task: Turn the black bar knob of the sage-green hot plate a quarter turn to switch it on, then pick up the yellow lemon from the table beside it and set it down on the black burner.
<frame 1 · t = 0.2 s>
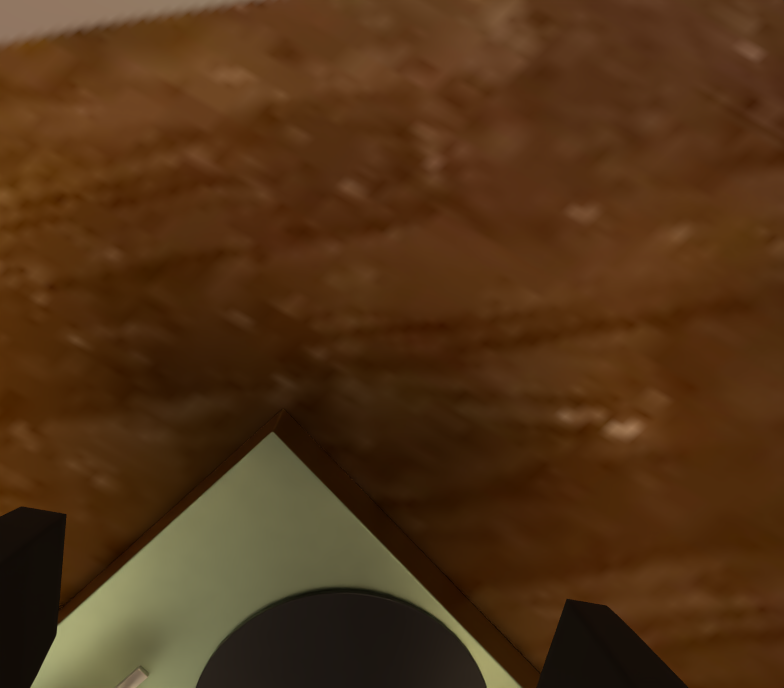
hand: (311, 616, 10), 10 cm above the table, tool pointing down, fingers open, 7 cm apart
burner: (344, 674, 21), resting on hob
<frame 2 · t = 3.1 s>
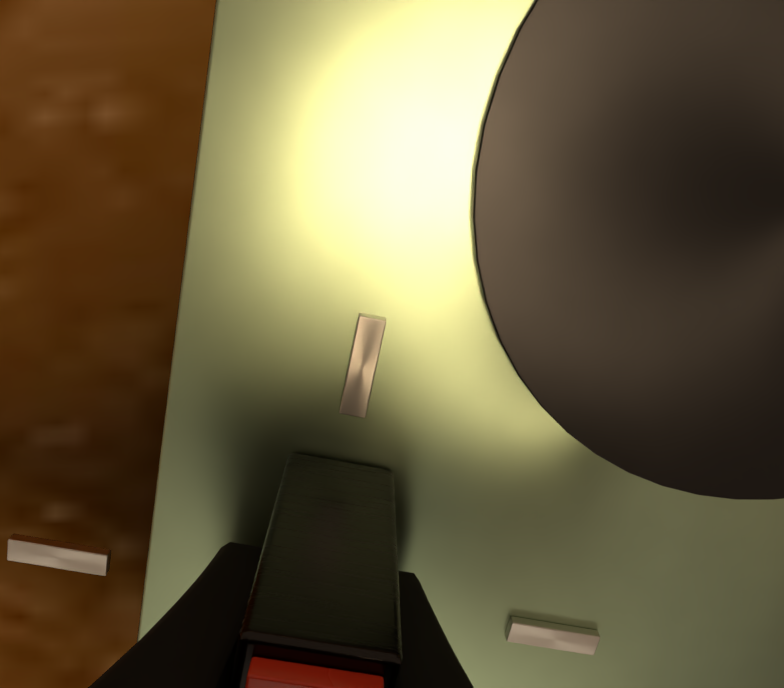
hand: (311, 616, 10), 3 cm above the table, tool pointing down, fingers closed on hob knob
burner: (714, 182, 11), resting on hob
hob: (570, 340, 12), on the table
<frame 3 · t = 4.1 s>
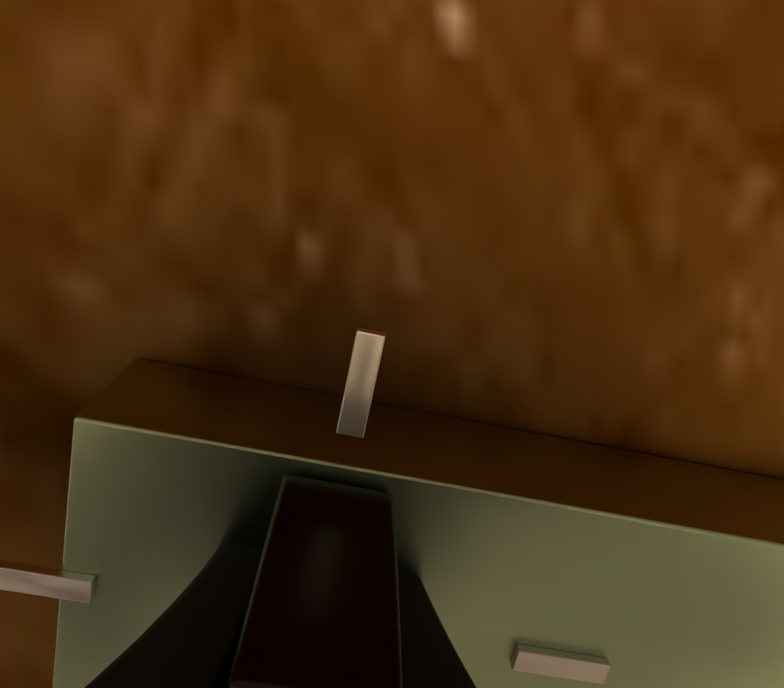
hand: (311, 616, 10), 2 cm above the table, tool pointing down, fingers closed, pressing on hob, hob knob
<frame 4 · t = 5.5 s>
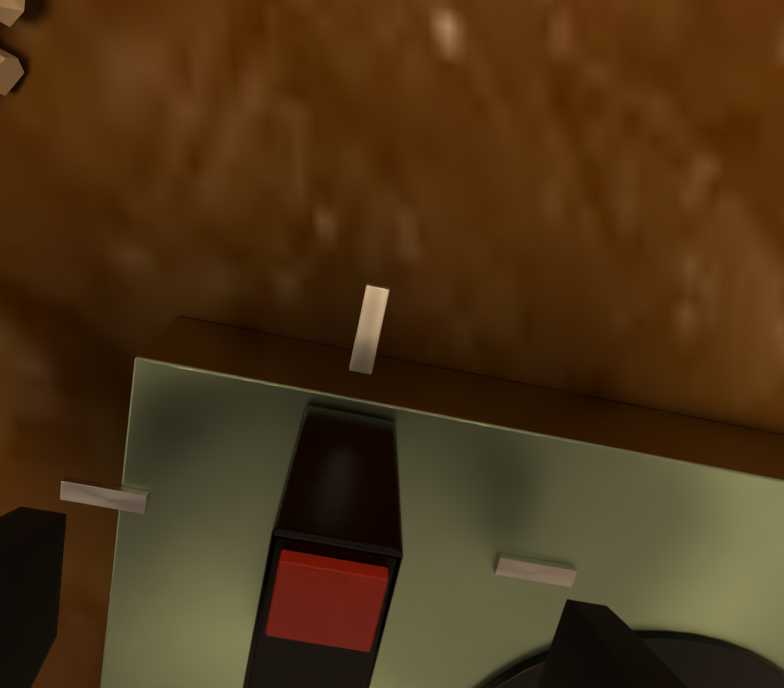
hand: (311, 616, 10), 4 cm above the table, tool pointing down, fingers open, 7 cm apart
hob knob: (315, 609, 10), point 4 cm above the table, hinge at 89.9°
hob: (481, 633, 15), on the table
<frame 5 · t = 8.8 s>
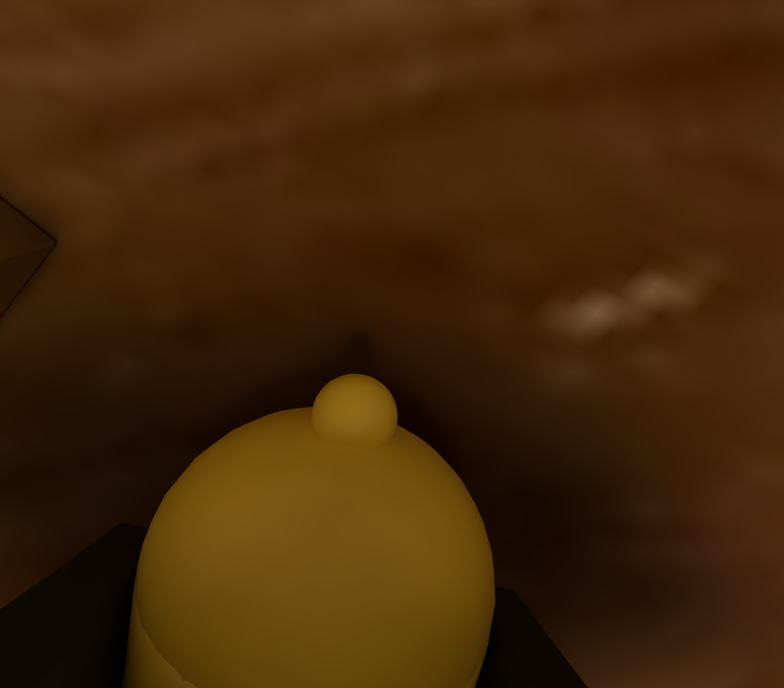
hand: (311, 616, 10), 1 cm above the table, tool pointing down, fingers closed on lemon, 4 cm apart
lemon: (317, 556, 11), on the table, touching gripper
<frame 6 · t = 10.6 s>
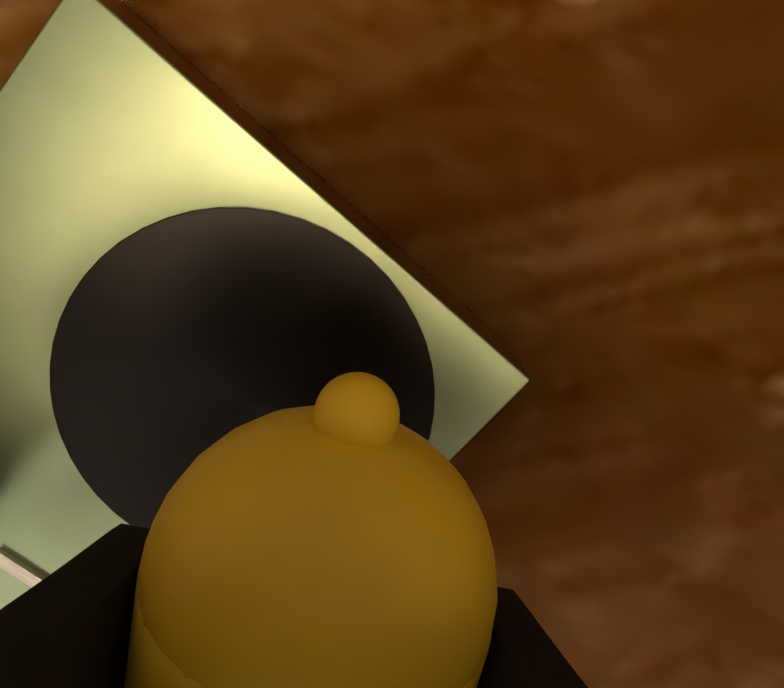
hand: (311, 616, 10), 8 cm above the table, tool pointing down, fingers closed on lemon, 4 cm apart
burner: (263, 362, 17), resting on hob
hob: (145, 408, 18), on the table
lemon: (318, 555, 11), point 7 cm above the table, touching gripper
when the fingers open (4 cm above the table, at t = 12.6 s): lemon stays where it is, resting on burner.
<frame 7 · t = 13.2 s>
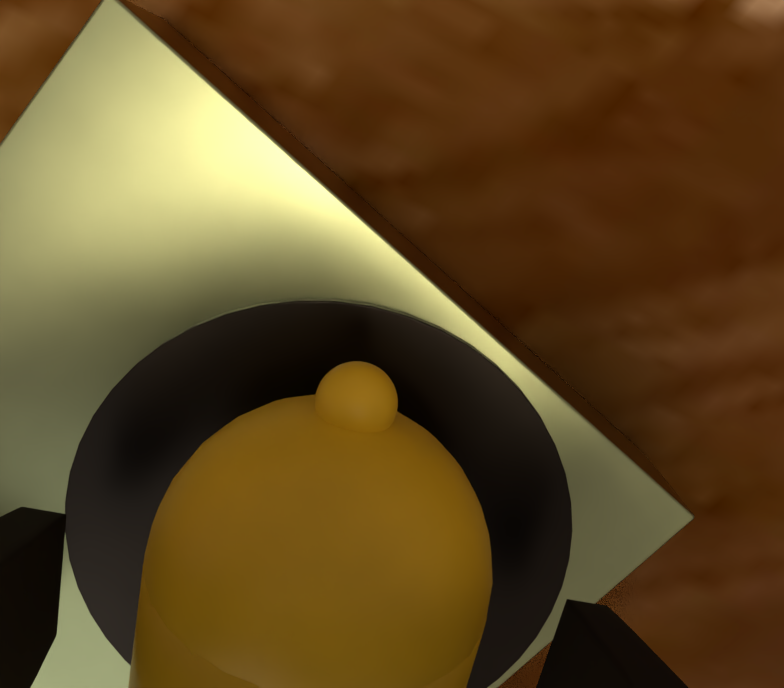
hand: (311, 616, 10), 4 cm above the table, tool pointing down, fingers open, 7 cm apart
burner: (331, 470, 14), resting on hob
hob: (182, 525, 14), on the table
lemon: (319, 543, 11), point 3 cm above the table, touching burner
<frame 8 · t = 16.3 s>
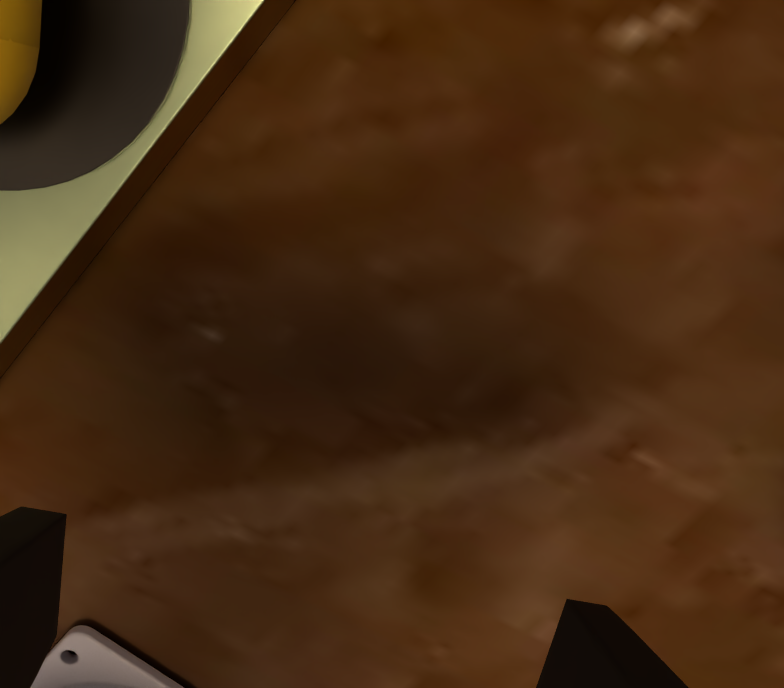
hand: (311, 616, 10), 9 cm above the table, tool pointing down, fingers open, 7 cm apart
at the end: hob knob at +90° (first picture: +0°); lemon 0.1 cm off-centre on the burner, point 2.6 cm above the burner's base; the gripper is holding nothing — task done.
